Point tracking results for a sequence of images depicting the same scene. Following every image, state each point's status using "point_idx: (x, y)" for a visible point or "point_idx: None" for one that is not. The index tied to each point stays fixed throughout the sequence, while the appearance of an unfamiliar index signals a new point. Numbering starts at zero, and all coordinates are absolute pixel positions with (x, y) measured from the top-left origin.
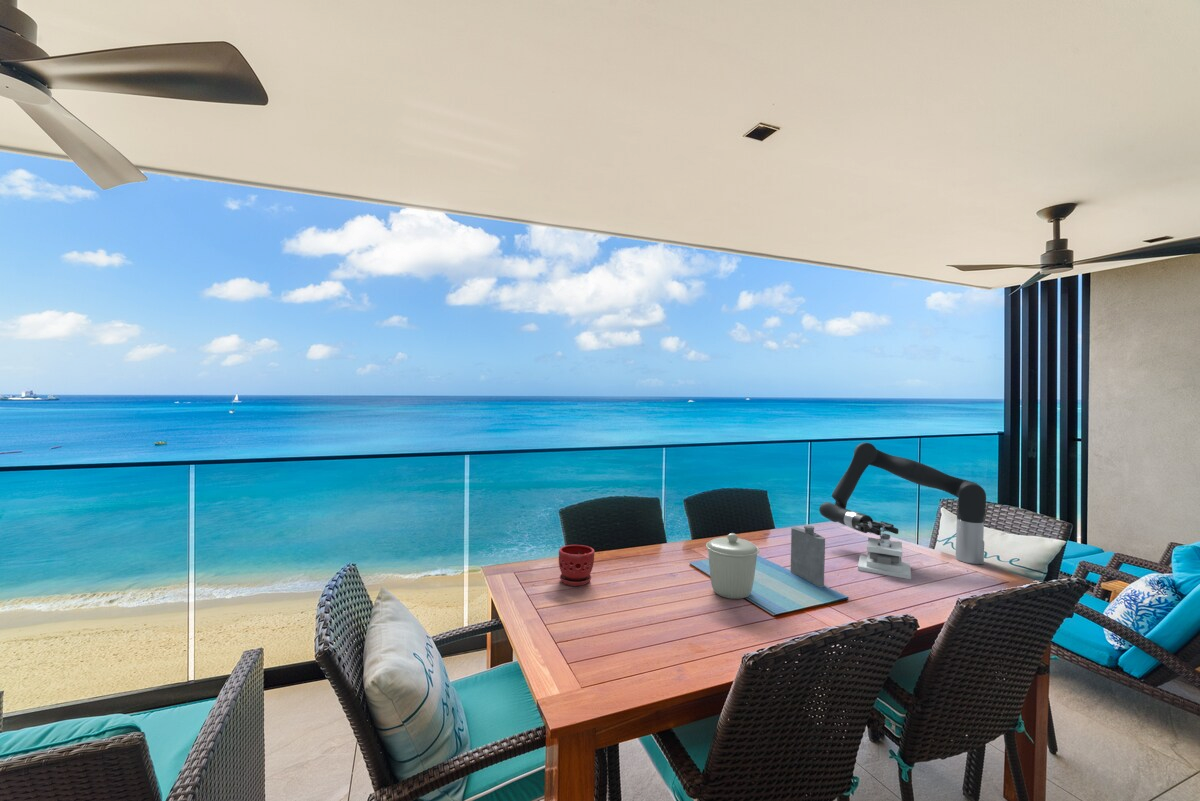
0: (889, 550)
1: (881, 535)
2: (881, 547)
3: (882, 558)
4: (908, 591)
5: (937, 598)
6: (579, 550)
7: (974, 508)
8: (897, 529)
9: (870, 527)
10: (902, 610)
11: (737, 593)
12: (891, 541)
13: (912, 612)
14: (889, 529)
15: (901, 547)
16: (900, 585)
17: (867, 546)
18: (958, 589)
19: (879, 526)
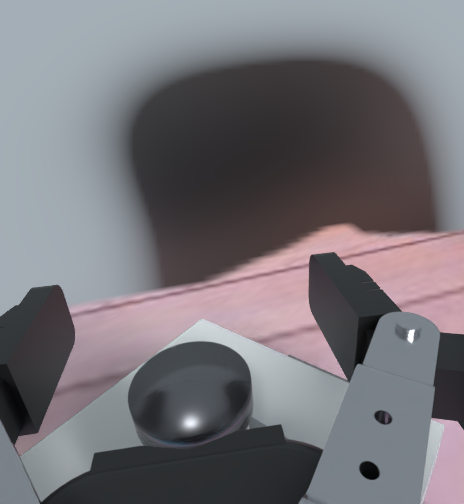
0: (267, 352)
1: (249, 377)
2: (302, 393)
3: (334, 376)
4: (307, 310)
5: (247, 280)
6: None
7: None
8: (53, 288)
9: (416, 317)
10: (392, 243)
11: None
12: None
13: (371, 239)
14: (25, 406)
15: (114, 389)
16: (305, 347)
17: (441, 424)
18: (111, 320)
19: (115, 469)
